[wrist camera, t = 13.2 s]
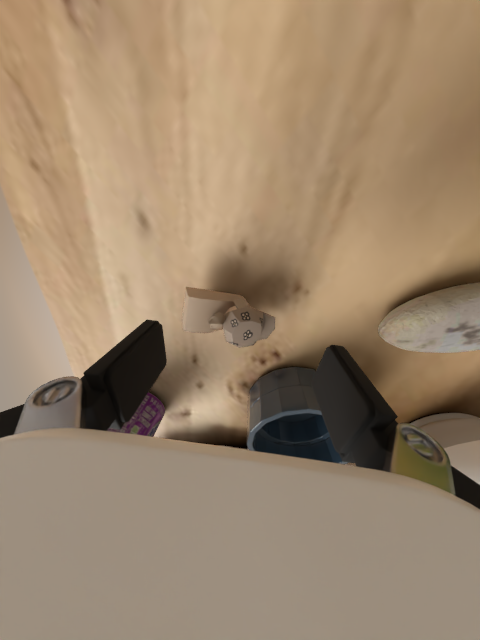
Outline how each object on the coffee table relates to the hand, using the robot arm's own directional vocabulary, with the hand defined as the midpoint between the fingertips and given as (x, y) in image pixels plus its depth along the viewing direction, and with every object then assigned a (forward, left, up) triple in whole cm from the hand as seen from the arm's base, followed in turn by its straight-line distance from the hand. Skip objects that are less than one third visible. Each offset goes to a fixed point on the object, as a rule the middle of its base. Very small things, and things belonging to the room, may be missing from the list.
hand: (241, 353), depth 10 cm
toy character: (+1, -1, -9) cm, 9 cm away
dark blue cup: (+13, +8, -9) cm, 17 cm away
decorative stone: (-2, +20, -9) cm, 22 cm away
